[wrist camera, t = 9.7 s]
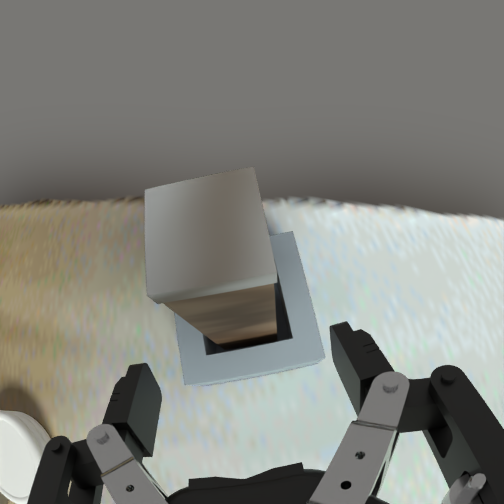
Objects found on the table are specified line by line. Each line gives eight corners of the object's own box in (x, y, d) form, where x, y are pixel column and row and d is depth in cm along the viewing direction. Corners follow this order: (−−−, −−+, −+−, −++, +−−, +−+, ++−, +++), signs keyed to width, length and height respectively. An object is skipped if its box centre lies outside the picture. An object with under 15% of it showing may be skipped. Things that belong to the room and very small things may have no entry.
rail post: (223, 351, 24) (146, 295, 10) (216, 299, 25) (145, 189, 12) (279, 341, 24) (276, 272, 10) (268, 289, 25) (253, 166, 12)
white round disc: (52, 411, 23) (29, 410, 20) (75, 506, 19) (54, 515, 16) (-8, 410, 23) (-30, 407, 20) (10, 492, 19) (-11, 496, 16)
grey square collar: (202, 386, 24) (184, 385, 19) (186, 280, 27) (168, 257, 23) (316, 363, 24) (325, 357, 19) (290, 258, 27) (292, 231, 23)
